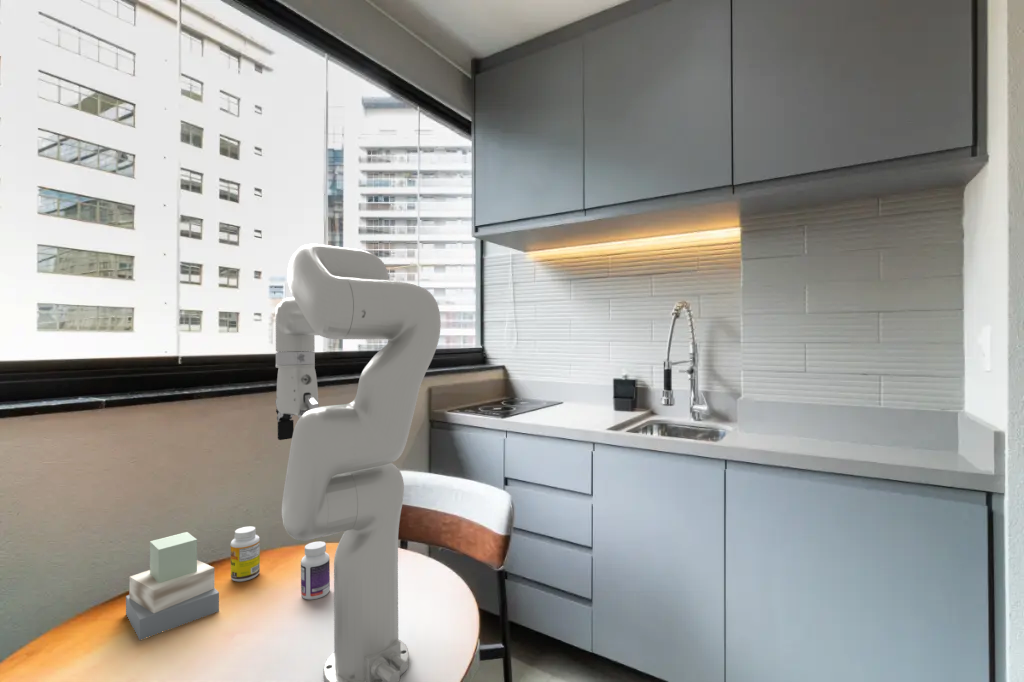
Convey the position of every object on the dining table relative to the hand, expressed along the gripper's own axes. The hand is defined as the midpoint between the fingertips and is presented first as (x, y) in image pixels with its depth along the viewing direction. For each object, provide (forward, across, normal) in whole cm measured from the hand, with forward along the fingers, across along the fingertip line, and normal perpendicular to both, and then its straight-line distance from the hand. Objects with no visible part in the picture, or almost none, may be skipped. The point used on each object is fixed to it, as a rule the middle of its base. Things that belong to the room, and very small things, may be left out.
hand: (296, 441), depth 100 cm
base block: (+30, +8, +20) cm, 37 cm away
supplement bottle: (+30, +12, +6) cm, 33 cm away
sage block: (+22, +8, +20) cm, 31 cm away
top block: (+26, +8, +20) cm, 34 cm away
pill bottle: (+30, -6, -1) cm, 31 cm away
